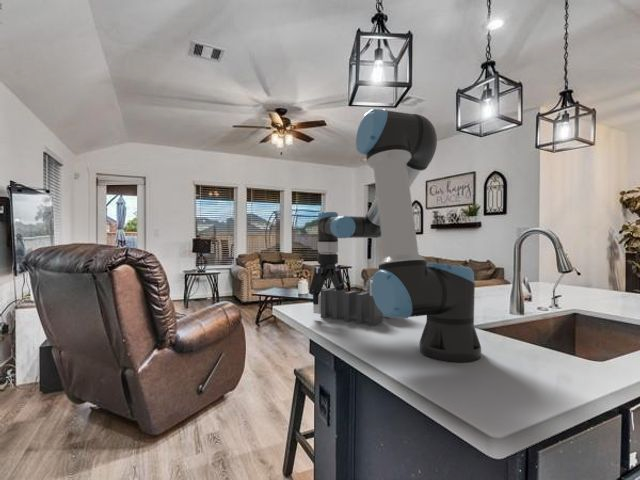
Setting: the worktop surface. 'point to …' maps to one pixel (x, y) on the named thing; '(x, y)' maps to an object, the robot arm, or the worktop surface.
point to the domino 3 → (350, 306)
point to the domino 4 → (362, 307)
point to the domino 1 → (326, 302)
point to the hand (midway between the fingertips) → (327, 310)
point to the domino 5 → (374, 313)
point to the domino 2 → (338, 304)
